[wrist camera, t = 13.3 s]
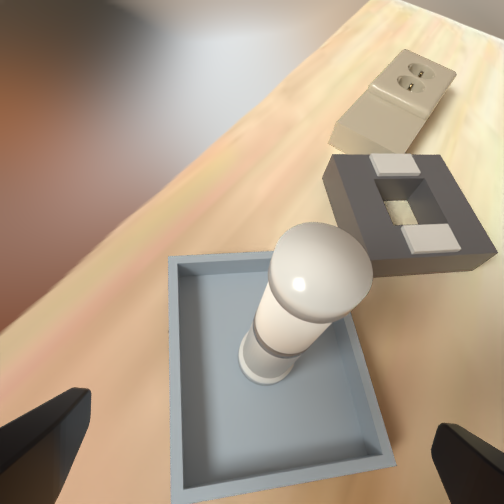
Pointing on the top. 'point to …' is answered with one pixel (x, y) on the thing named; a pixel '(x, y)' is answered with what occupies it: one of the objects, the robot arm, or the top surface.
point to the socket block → (422, 204)
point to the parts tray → (259, 392)
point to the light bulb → (303, 297)
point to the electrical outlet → (393, 107)
